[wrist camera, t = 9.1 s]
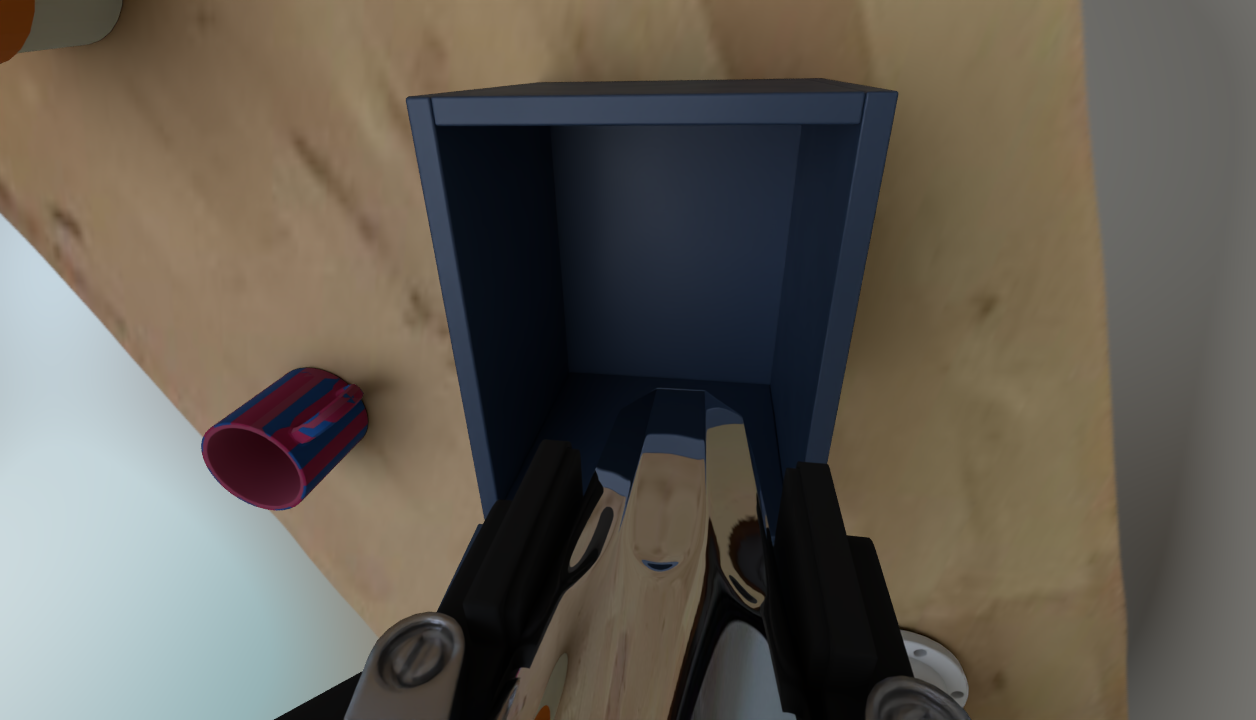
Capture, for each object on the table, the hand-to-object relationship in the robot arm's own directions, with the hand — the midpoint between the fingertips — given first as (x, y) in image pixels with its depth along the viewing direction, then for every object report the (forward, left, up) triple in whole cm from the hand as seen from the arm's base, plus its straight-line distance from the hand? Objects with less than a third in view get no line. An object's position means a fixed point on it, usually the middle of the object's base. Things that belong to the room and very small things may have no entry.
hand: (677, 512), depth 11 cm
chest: (+1, +2, -21) cm, 21 cm away
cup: (+7, +27, -21) cm, 35 cm away
